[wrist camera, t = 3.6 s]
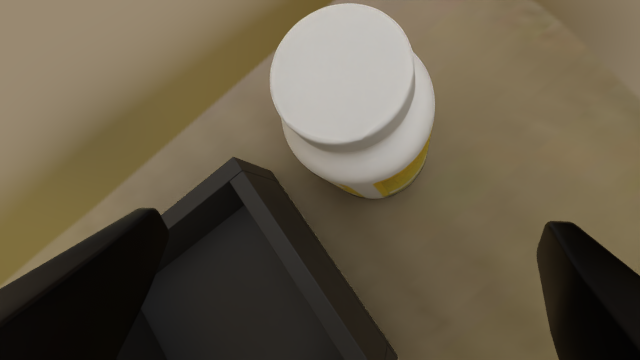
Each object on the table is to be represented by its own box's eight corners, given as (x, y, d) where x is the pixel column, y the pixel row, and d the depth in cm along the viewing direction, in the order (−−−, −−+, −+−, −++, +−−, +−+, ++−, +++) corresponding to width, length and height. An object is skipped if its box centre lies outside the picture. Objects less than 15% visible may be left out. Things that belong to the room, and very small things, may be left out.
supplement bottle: (426, 96, 19) (445, -37, 9) (427, 200, 18) (448, 173, 8) (325, 102, 20) (250, -9, 10) (323, 198, 19) (240, 174, 10)
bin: (398, 355, 17) (394, 399, 13) (219, 475, 19) (162, 551, 14) (271, 170, 20) (233, 156, 16) (124, 286, 22) (52, 302, 17)
